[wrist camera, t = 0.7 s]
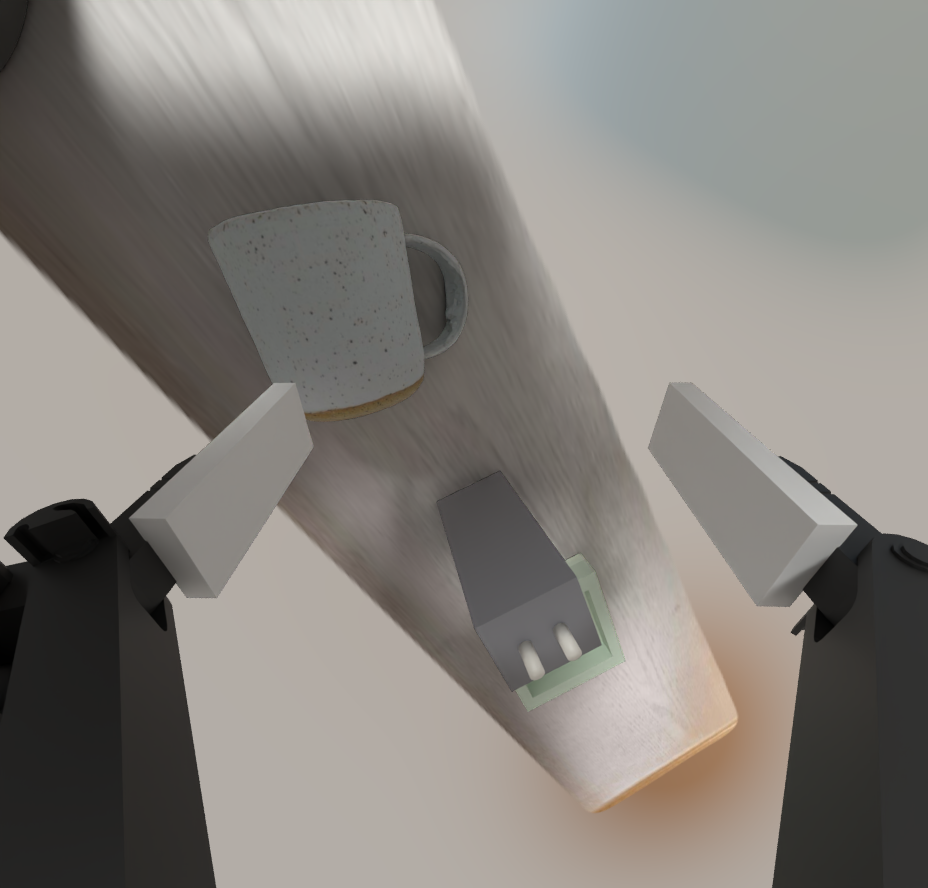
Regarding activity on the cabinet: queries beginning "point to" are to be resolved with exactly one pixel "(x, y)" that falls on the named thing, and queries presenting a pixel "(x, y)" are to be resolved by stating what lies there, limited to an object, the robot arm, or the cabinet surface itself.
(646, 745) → the cabinet surface
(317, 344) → the ceramic mug
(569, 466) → the cabinet surface
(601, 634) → the shallow pale green tray
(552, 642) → the charger brick
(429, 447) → the cabinet surface
